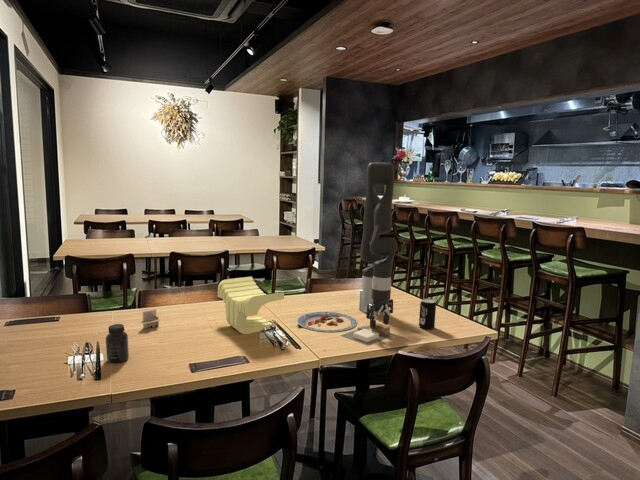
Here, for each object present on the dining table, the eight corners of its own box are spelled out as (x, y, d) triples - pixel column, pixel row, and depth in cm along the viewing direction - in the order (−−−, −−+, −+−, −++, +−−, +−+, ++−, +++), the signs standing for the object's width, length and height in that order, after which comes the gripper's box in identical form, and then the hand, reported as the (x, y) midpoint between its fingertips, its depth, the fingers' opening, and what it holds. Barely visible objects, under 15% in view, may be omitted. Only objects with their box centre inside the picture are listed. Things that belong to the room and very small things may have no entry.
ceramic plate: (319, 312, 213) (319, 306, 212) (367, 324, 198) (368, 317, 198) (284, 326, 192) (284, 320, 191) (335, 341, 177) (335, 333, 177)
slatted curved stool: (217, 320, 197) (217, 280, 195) (251, 314, 206) (251, 276, 203) (246, 342, 173) (246, 297, 170) (283, 335, 181) (284, 292, 179)
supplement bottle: (111, 355, 157) (109, 322, 155) (131, 355, 157) (130, 322, 156) (103, 364, 150) (101, 329, 148) (124, 364, 151) (123, 329, 149)
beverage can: (434, 330, 192) (436, 303, 190) (418, 329, 193) (420, 302, 191) (434, 325, 198) (435, 299, 196) (418, 324, 200) (420, 297, 198)
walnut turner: (392, 334, 182) (392, 325, 181) (383, 337, 177) (383, 329, 177) (366, 326, 191) (367, 318, 190) (357, 329, 186) (358, 321, 186)
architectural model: (160, 328, 186) (160, 311, 185) (143, 332, 182) (143, 314, 181) (156, 326, 189) (156, 309, 188) (140, 329, 184) (139, 312, 183)
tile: (353, 332, 176) (367, 337, 171) (364, 328, 181) (378, 333, 176) (353, 337, 176) (367, 342, 172) (364, 333, 181) (378, 338, 177)
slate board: (339, 339, 179) (340, 335, 179) (368, 329, 191) (368, 325, 191) (367, 349, 169) (367, 345, 169) (395, 338, 182) (396, 334, 181)
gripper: (377, 292, 172) (375, 333, 174) (399, 286, 182) (397, 325, 184) (362, 288, 177) (360, 328, 180) (384, 282, 187) (382, 320, 190)
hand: (379, 326), depth 182 cm, fingers open, 8 cm apart
